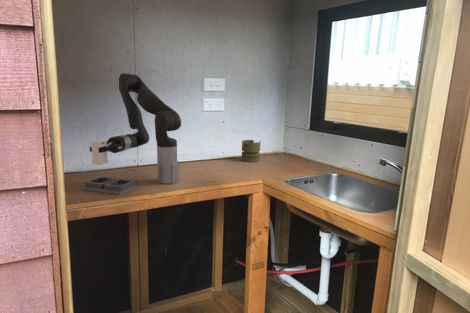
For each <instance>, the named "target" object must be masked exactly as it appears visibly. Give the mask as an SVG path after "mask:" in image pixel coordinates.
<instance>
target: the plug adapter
mask: <svg viewBox="0 0 470 313" xmlns="http://www.w3.org/2000/svg"><path fill="white" fill-rule="evenodd" d="M106 142H107V140H105V139H96V140H91V141H90V144H91V145H90V147H91V148H92V152H91V164H92V165H94V166H95V165H97V166H101V165H105V164H107V163H108V152H106V151H105V152H102V153H99V147H104V146H107V143H106Z"/></svg>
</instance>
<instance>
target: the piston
mask: <svg viewBox="0 0 470 313" xmlns="http://www.w3.org/2000/svg"><path fill="white" fill-rule="evenodd" d="M254 140H255V139H245V140H242V141H241V162H243V163H249V164H250V163H254V164H255V163H259V162H261V140H260V141H258V142H254Z"/></svg>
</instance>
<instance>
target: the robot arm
mask: <svg viewBox="0 0 470 313" xmlns="http://www.w3.org/2000/svg"><path fill="white" fill-rule="evenodd" d="M120 74H121V75H120ZM120 74H119V75H120V77H119V76H118V77H119V87H118V90H119V93H120V96H121V99H122V101H123V105H124V107H125V111H126V114H127V119H128V126H129V128H130V129H131V130H137V132H134V133H132V134H131V133H129V134H122V135H117V136H112V137H109V138H108V139H107V140H106V143H107V146H104V147H99V153H102V152H105V151H106V152H107V153H108V152H109V153H111V154H117V153H120V152H124V151H127V150H130V149H135V148H138V147H140V146H143V145H146V144H148V143H149V141H150V134H149V133H148V131H147V128H146V126H145V124H144V122H143V114H142V111H141V110H140V107H141V108H142V109H143V110H144V111H145V112H147V113H148V114H151V115H154V116H155V117H154V130H155V140H156V161H157V162H156V167H157V168H156V169H157V170H156V172H157V183H158V184H164V185H165V184H167V185H168V184H173V185H174V184H175V183H177V182H178V181H180V163H179V161H178V142H177V139H176V138H173V137H170V136H169V135H168V132H173V131H177V130H179V129H180V128H181V127H182V126H181V125H182V119H181V116H180V114H179V113H178V112H177V111H176V110H174V109H172V108H171V107H170V106H168V105H167V104H166V103H165V102H164V101H162V99H160V98H159V97H158V96H157V95H156V94H155V92H153V91H152V90H151V89H150V88H149V87H148V85H146V84H145V82H144V81H143V80H142V79H141V77H140V76H139V75H137V74H133V73H125V72H123V73H120ZM130 92H131V93H136V94H137V95H136V96H137V97H136V102H137V103H136V102H135V101H134V100H133V98H132V97H131V94H130ZM137 104H138V105H139V106H140V107H139V106H138V105H137ZM89 152H90V153H92V148H91V146H89Z"/></svg>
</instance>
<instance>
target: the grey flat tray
mask: <svg viewBox="0 0 470 313" xmlns="http://www.w3.org/2000/svg"><path fill="white" fill-rule="evenodd" d="M136 182H137V181H136V180H133V179H132V180H131V179H124V178H118V179H117V178H116V177H110V176H109V177H106V176H98V177H96V178H92V179H90V180H88V181H84V186H82V190H83V191H91V192H98V193H103V194H104V193H105V194H113V195H123V194H125V193H127V192H129V191H131V190H134V189H136V188H137V186H138V185H137V183H136Z"/></svg>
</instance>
